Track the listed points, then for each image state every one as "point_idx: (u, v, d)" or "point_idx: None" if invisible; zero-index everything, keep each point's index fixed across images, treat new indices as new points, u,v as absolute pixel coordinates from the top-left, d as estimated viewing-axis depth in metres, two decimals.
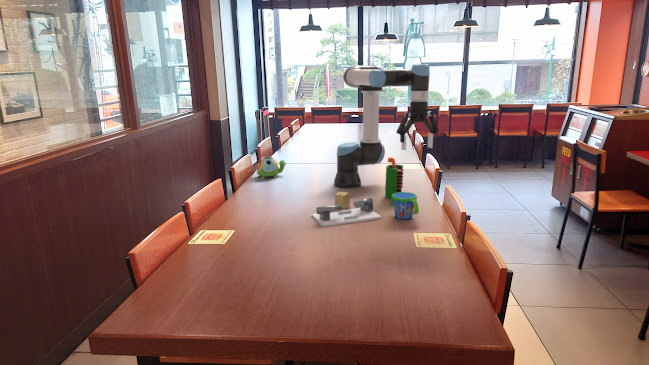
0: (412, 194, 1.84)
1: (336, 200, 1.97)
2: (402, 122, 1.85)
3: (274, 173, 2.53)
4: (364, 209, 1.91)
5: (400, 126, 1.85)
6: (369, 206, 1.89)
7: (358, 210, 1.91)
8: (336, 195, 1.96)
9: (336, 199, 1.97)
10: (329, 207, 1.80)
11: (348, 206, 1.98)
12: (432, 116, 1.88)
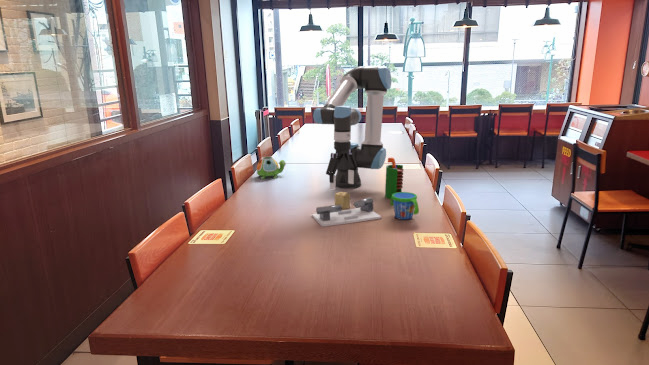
0: (412, 194, 1.84)
1: (336, 200, 1.97)
2: (331, 163, 1.87)
3: (274, 173, 2.53)
4: (364, 209, 1.91)
5: (329, 167, 1.87)
6: (369, 206, 1.89)
7: (358, 210, 1.91)
8: (336, 195, 1.96)
9: (336, 199, 1.97)
10: (329, 207, 1.80)
11: (348, 206, 1.98)
12: (352, 154, 1.96)
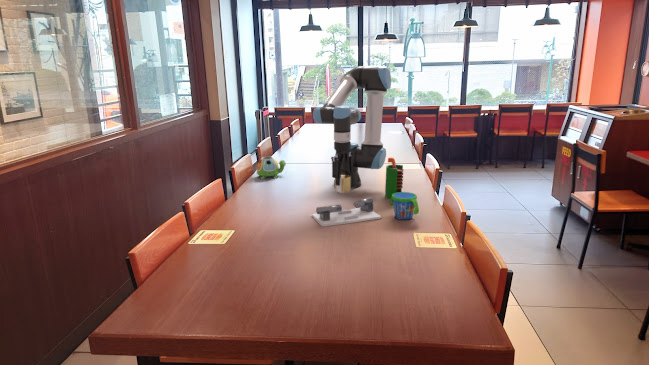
0: (412, 194, 1.84)
1: None
2: (334, 167, 1.89)
3: (274, 173, 2.53)
4: (364, 209, 1.91)
5: (334, 171, 1.90)
6: (369, 206, 1.89)
7: (358, 210, 1.91)
8: None
9: None
10: (329, 207, 1.80)
11: (349, 189, 1.97)
12: (352, 157, 1.96)
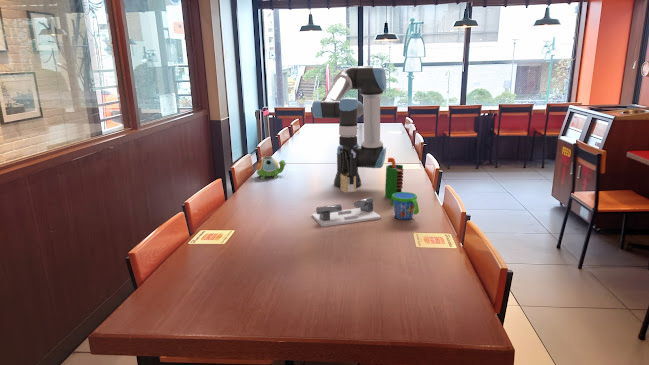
0: (412, 194, 1.84)
1: None
2: (354, 164, 1.73)
3: (274, 173, 2.53)
4: (364, 209, 1.91)
5: (354, 168, 1.74)
6: (369, 206, 1.89)
7: (358, 210, 1.91)
8: None
9: None
10: (329, 207, 1.80)
11: None
12: None
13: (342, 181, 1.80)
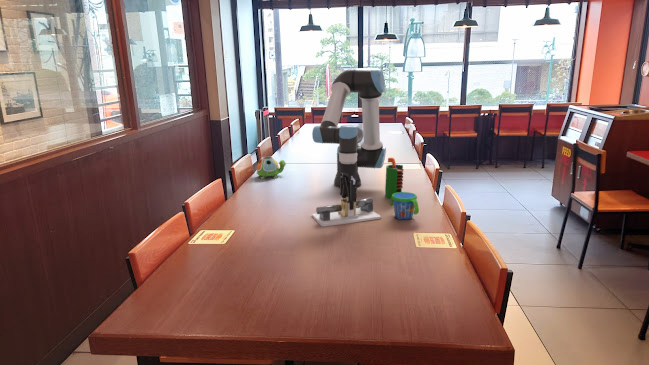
0: (412, 194, 1.84)
1: None
2: (354, 190, 1.76)
3: (274, 173, 2.53)
4: (364, 209, 1.91)
5: (354, 195, 1.77)
6: (369, 206, 1.89)
7: (358, 210, 1.91)
8: None
9: None
10: (329, 207, 1.80)
11: None
12: None
13: (342, 207, 1.83)
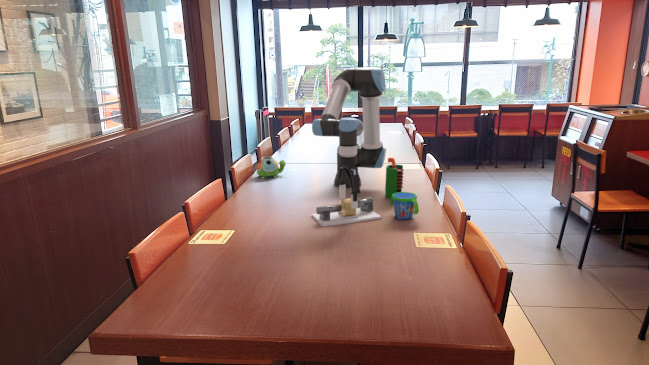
0: (412, 194, 1.84)
1: (347, 209, 1.81)
2: (356, 180, 1.73)
3: (274, 173, 2.53)
4: (364, 209, 1.91)
5: (356, 185, 1.73)
6: (369, 206, 1.89)
7: (358, 210, 1.91)
8: (347, 203, 1.81)
9: (347, 207, 1.81)
10: (329, 207, 1.80)
11: None
12: None
13: (342, 207, 1.83)
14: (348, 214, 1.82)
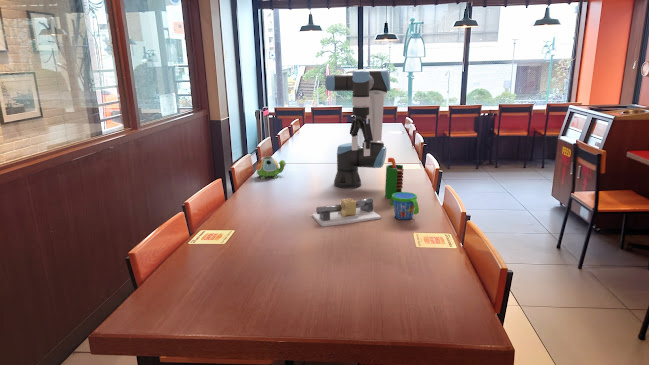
0: (412, 194, 1.84)
1: (347, 209, 1.81)
2: (368, 129, 1.85)
3: (274, 173, 2.53)
4: (364, 209, 1.91)
5: (369, 133, 1.84)
6: (369, 206, 1.89)
7: (358, 210, 1.91)
8: (347, 203, 1.81)
9: (347, 207, 1.81)
10: (329, 207, 1.80)
11: None
12: None
13: (342, 207, 1.83)
14: (348, 214, 1.82)
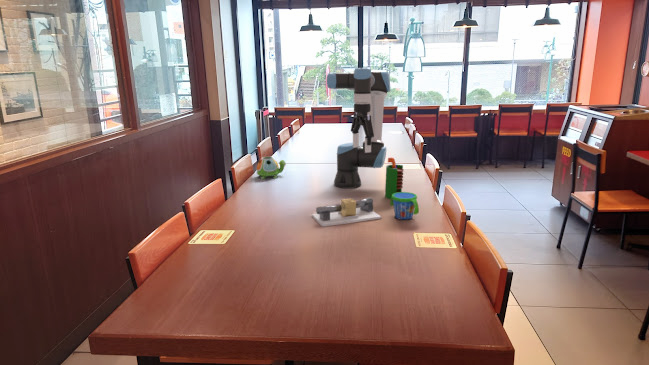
0: (412, 194, 1.84)
1: (347, 209, 1.81)
2: (369, 125, 1.86)
3: (274, 173, 2.53)
4: (364, 209, 1.91)
5: (370, 129, 1.85)
6: (369, 206, 1.89)
7: (358, 210, 1.91)
8: (347, 203, 1.81)
9: (347, 207, 1.81)
10: (329, 207, 1.80)
11: None
12: None
13: (342, 207, 1.83)
14: (348, 214, 1.82)
